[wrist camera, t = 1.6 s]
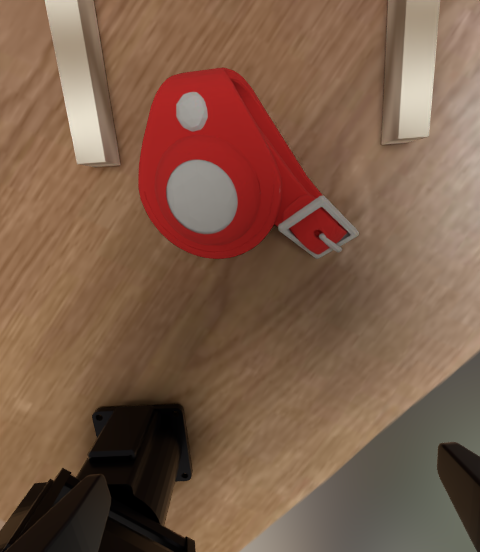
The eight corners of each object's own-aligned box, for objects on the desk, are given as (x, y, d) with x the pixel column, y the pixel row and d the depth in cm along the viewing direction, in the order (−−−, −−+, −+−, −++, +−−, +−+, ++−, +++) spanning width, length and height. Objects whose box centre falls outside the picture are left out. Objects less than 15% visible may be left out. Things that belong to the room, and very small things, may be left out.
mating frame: (481, 137, 17) (529, 125, 14) (45, 171, 18) (7, 166, 15) (518, -162, 14) (590, -256, 11) (-17, -102, 15) (-81, -175, 12)
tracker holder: (148, 272, 19) (93, 79, 14) (177, 243, 22) (142, 83, 18) (360, 277, 16) (384, 32, 11) (353, 242, 19) (368, 48, 15)
